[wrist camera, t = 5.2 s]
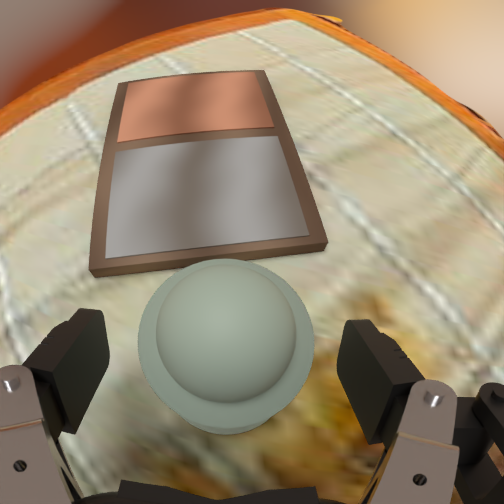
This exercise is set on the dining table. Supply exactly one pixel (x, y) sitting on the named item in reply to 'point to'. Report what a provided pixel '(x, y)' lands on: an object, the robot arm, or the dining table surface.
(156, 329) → the pawn
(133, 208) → the brown flat rectangular board
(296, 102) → the dining table surface
